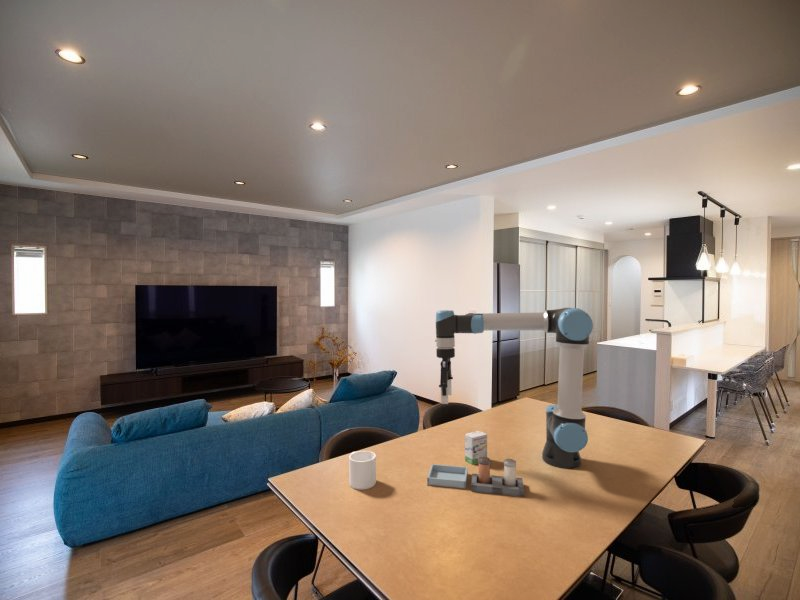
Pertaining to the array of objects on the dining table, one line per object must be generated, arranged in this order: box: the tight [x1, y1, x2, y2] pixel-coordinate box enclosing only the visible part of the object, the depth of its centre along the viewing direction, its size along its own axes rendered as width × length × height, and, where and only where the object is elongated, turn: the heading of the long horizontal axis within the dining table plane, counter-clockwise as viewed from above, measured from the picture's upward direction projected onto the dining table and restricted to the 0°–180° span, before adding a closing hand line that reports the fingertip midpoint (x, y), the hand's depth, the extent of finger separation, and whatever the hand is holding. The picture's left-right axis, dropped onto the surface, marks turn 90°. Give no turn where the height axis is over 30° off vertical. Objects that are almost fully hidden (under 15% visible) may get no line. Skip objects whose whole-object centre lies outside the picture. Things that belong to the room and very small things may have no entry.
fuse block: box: [470, 473, 525, 498], centre depth 138 cm, size 18×9×3 cm, turn 77°
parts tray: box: [426, 463, 469, 490], centre depth 145 cm, size 14×12×3 cm
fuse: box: [503, 458, 517, 487], centre depth 137 cm, size 4×4×10 cm
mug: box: [348, 450, 377, 491], centre depth 144 cm, size 13×10×10 cm
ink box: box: [464, 430, 488, 466], centre depth 161 cm, size 8×5×12 cm, turn 120°
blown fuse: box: [477, 456, 491, 484], centre depth 139 cm, size 4×4×10 cm
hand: (446, 399), depth 158 cm, fingers open, 13 cm apart
